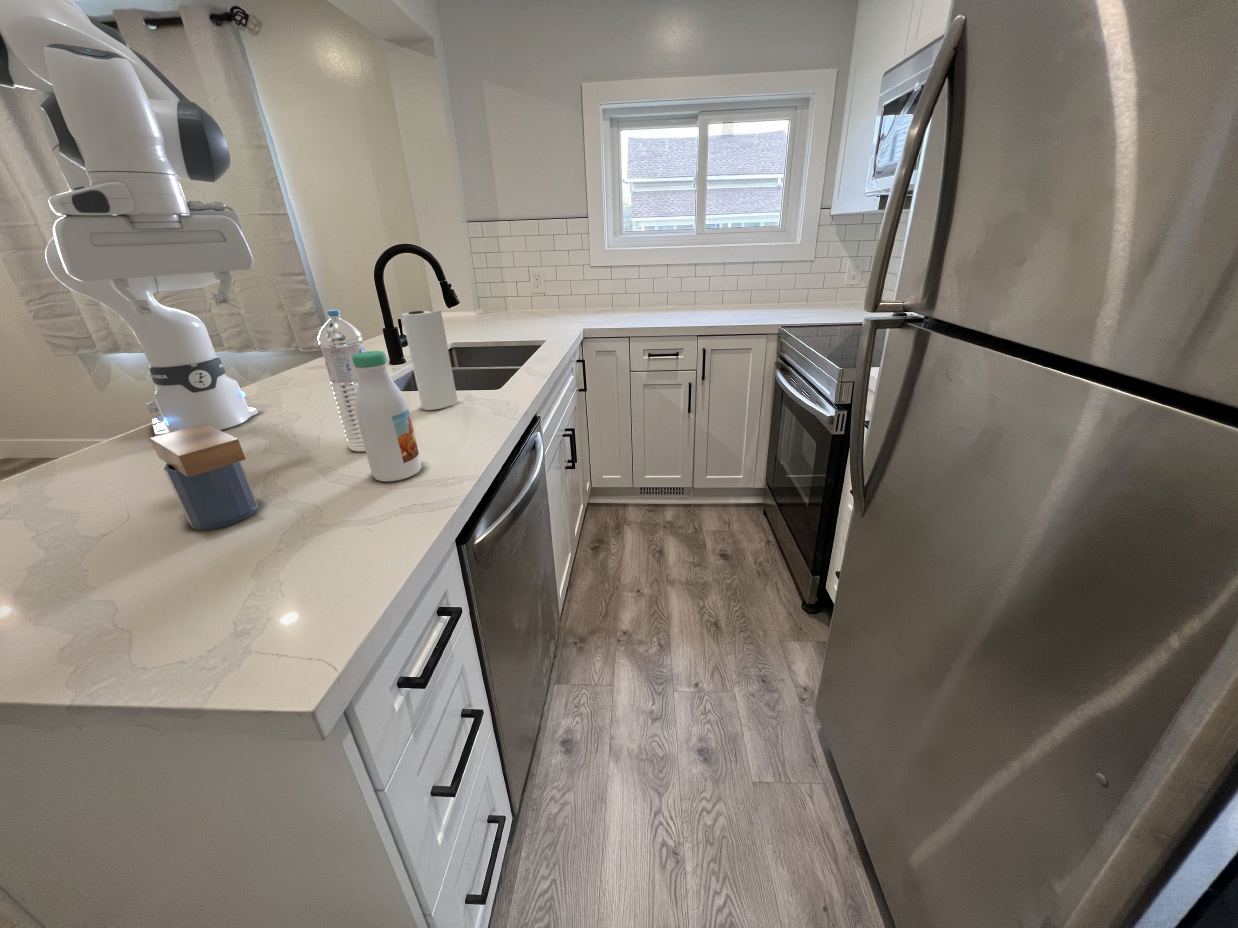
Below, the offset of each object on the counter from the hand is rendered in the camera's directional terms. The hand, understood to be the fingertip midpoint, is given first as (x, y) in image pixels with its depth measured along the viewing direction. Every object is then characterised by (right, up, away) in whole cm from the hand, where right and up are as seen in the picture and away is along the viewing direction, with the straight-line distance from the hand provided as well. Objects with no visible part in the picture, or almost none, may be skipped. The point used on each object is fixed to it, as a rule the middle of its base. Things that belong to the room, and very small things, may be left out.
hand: (185, 309), depth 71 cm
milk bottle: (+25, -24, +12) cm, 37 cm away
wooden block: (+5, -22, -3) cm, 22 cm away
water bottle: (+15, -19, +24) cm, 34 cm away
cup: (+5, -30, +1) cm, 30 cm away
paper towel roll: (+20, -9, +44) cm, 50 cm away
